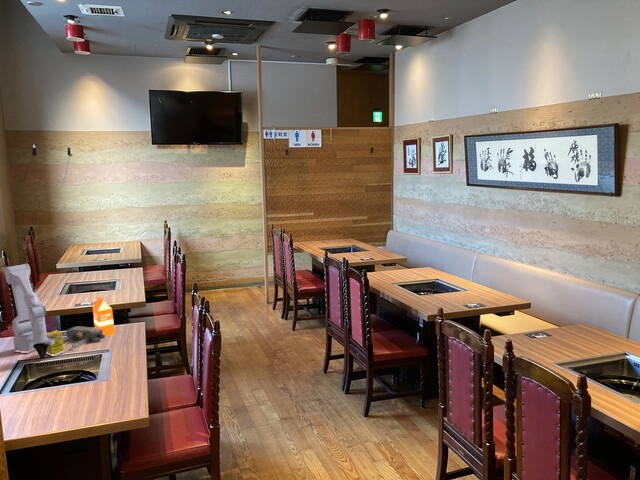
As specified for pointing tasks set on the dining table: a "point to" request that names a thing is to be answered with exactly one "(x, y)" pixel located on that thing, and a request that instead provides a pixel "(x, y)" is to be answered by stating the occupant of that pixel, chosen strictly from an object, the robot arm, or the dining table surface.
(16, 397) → the dining table surface
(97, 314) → the orange juice
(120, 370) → the dining table surface
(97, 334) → the grey plush toy
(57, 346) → the supplement box
